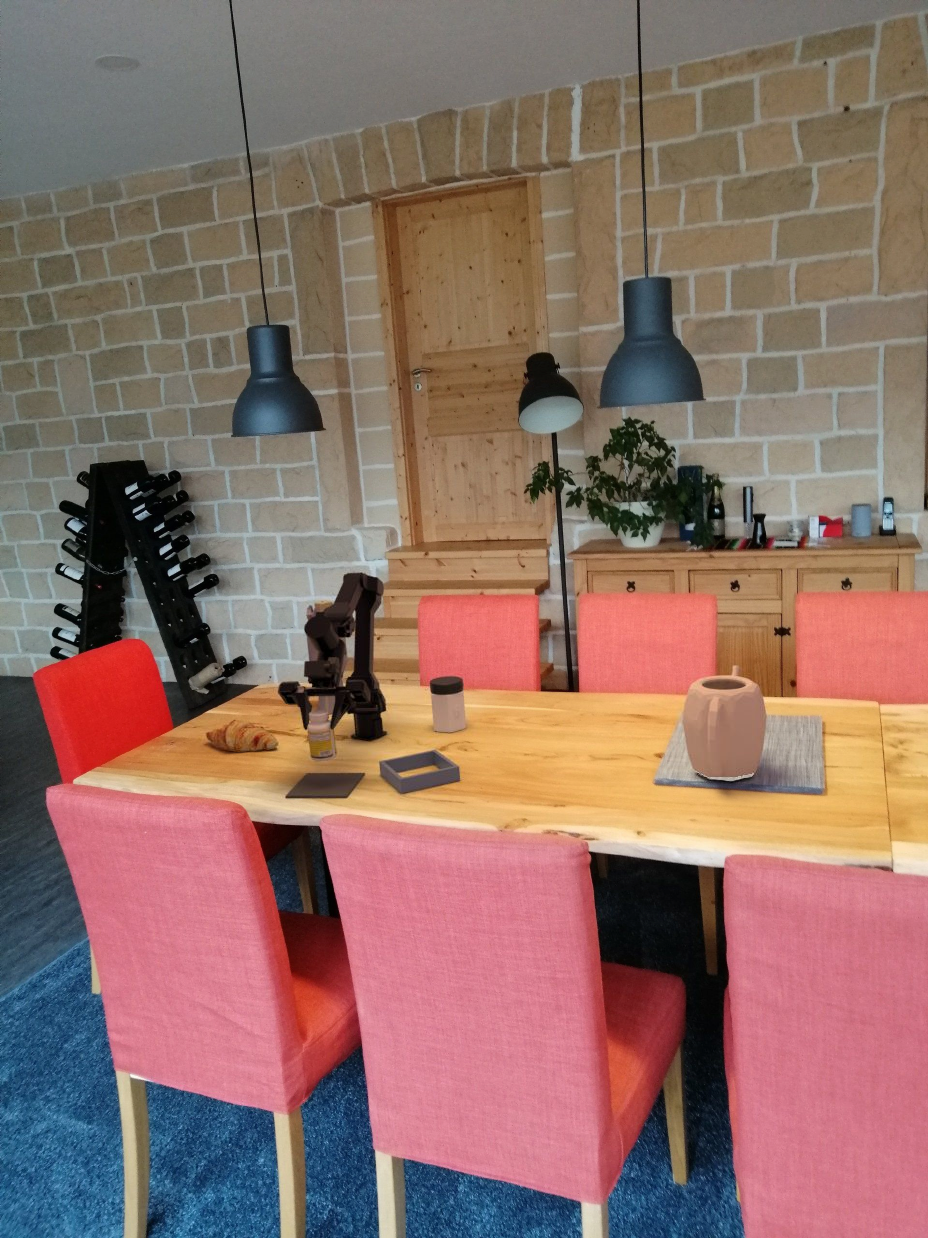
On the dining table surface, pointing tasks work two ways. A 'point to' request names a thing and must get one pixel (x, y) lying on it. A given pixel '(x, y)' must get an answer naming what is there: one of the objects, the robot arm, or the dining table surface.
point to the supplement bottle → (321, 736)
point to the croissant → (242, 737)
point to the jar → (448, 704)
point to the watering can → (724, 725)
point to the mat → (325, 785)
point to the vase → (324, 701)
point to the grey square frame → (424, 780)
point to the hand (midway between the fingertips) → (318, 728)
